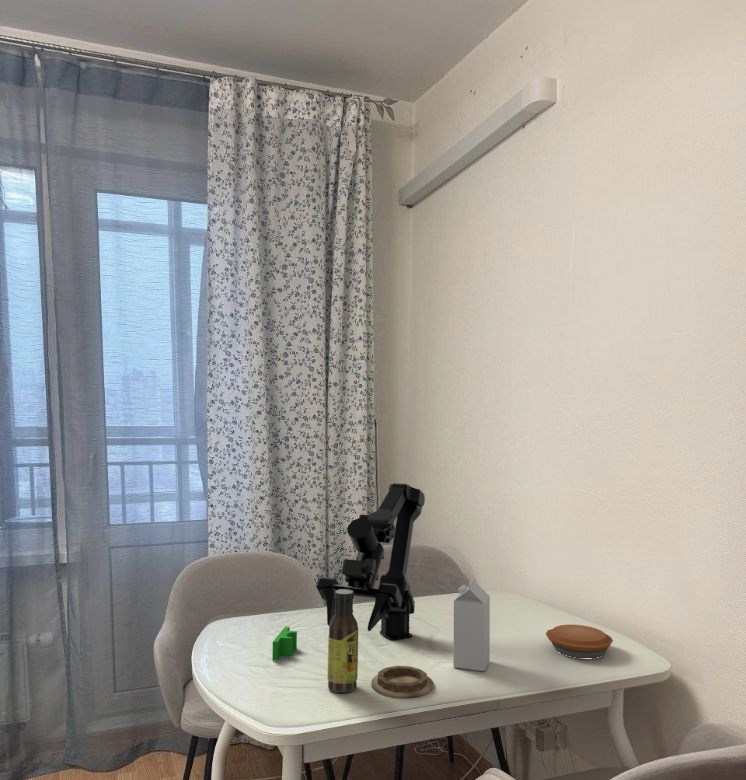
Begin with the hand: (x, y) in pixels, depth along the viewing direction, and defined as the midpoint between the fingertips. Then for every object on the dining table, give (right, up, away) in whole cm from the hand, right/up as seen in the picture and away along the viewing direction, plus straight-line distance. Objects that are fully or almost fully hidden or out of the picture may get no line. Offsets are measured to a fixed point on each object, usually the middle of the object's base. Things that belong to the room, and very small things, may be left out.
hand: (348, 627), depth 139 cm
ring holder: (+11, -12, -1) cm, 16 cm away
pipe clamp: (-16, -13, +17) cm, 26 cm away
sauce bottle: (-1, -12, -3) cm, 12 cm away
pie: (+56, -13, +20) cm, 61 cm away
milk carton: (+28, -13, +11) cm, 32 cm away
